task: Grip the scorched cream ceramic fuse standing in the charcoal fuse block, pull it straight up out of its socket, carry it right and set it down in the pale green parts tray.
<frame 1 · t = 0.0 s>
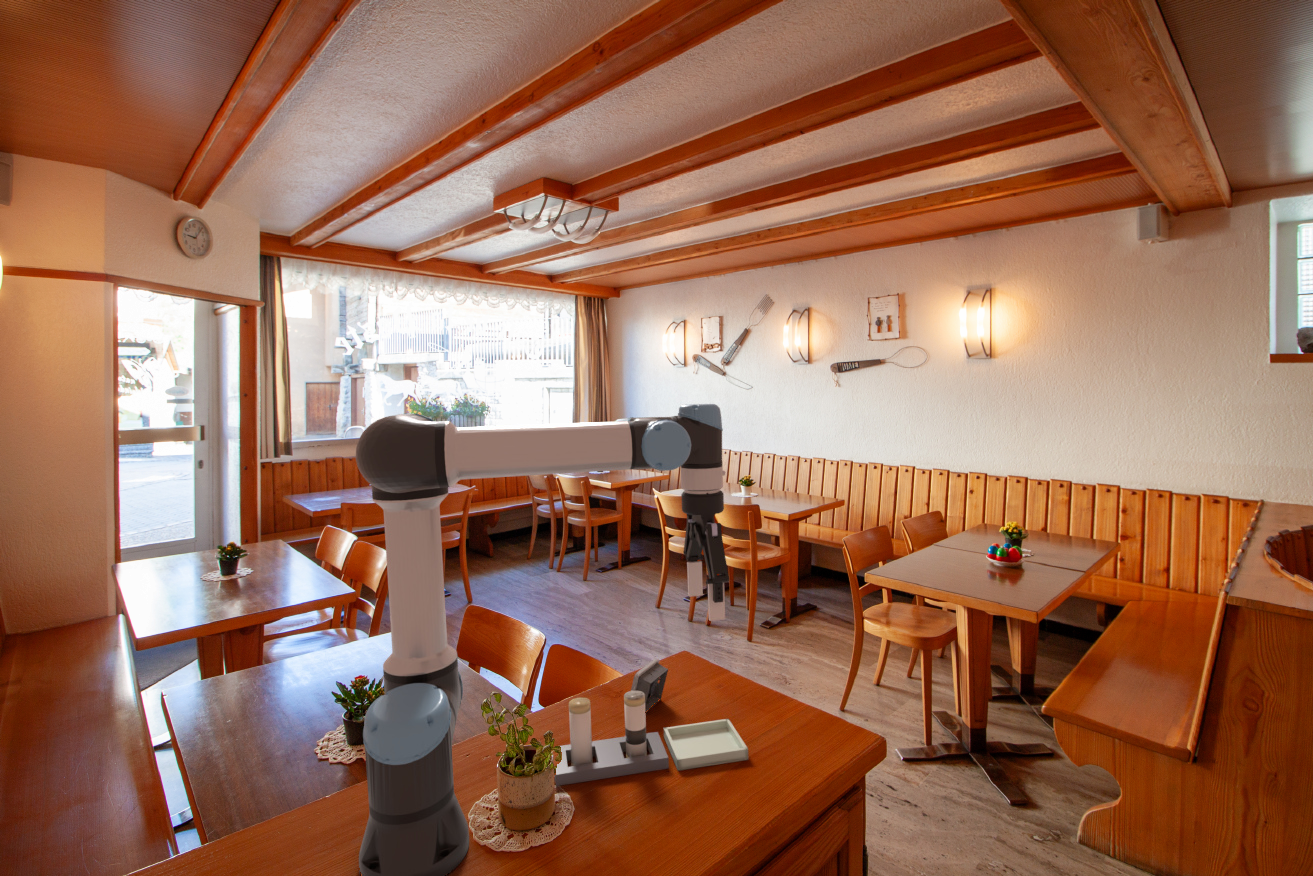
hand: (705, 607, 115), 28 cm above the table, fingers open, 13 cm apart
fuse block: (609, 762, 116), on the table
blown fuse: (636, 758, 117), resting in fuse block
electrical switch: (648, 707, 137), on the table
parts tray: (704, 748, 120), on the table
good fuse: (582, 767, 115), resting in fuse block
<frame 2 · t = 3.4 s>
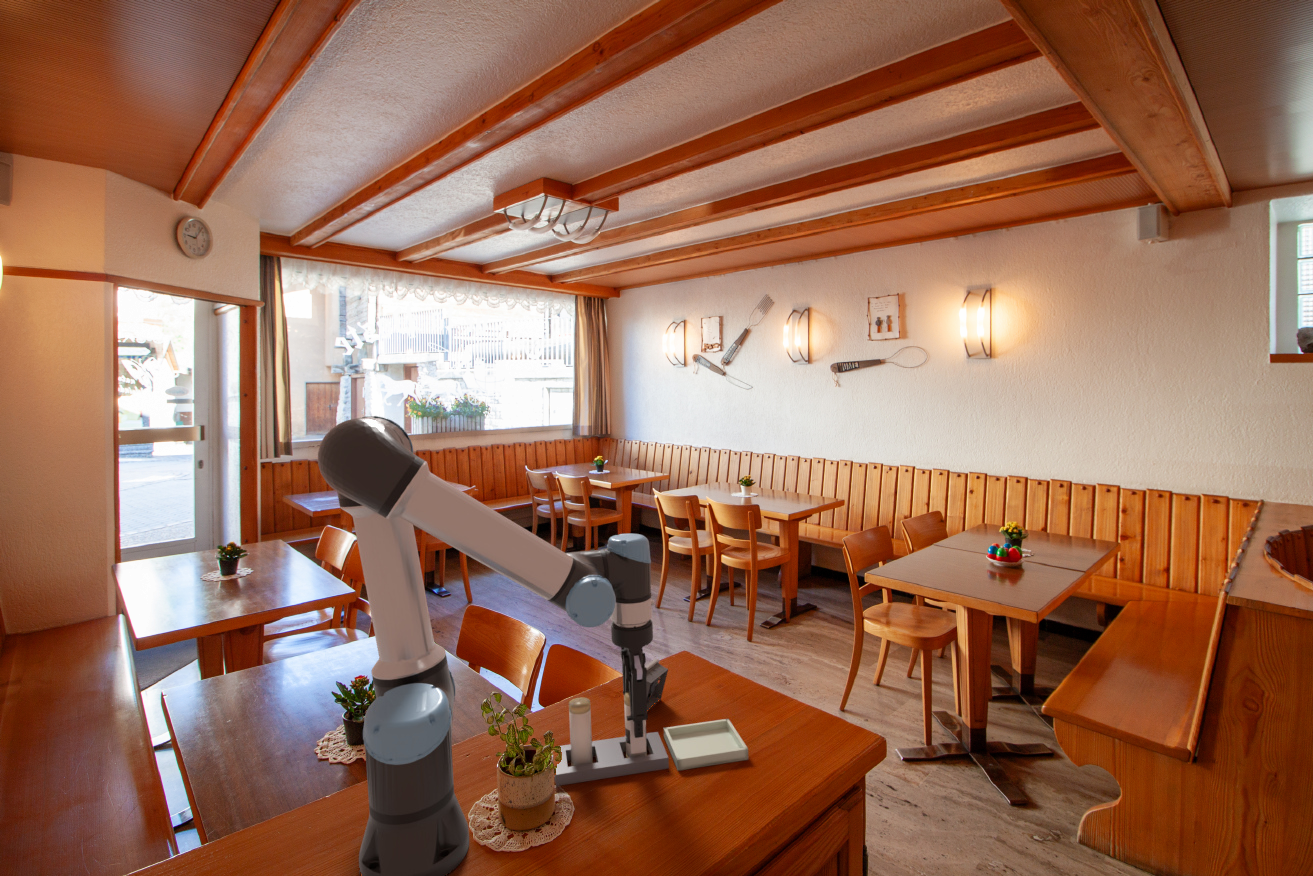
hand: (636, 744, 117), 3 cm above the table, fingers closed on blown fuse, 4 cm apart
blown fuse: (636, 758, 117), resting in fuse block, touching gripper
everything else where it was.
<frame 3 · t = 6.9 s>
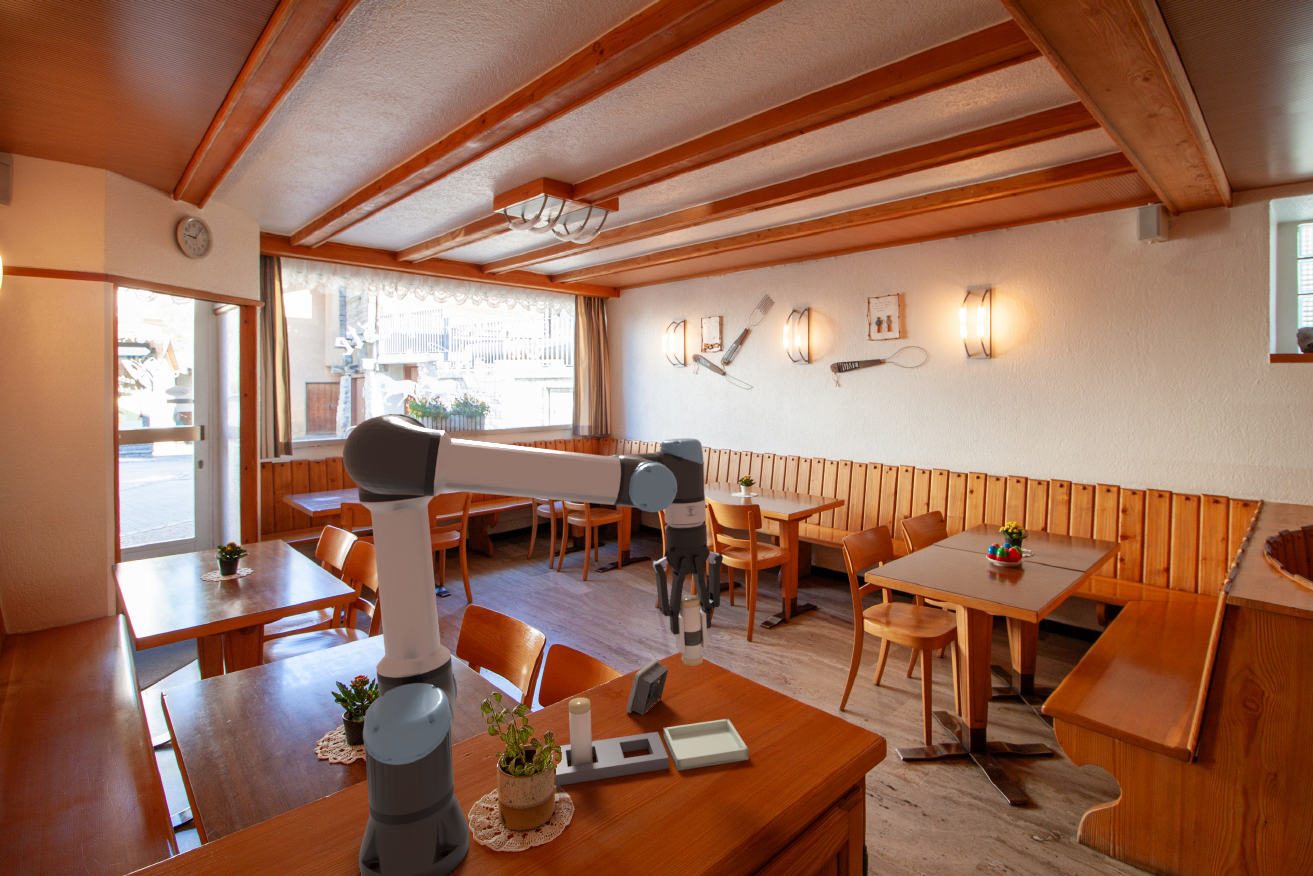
hand: (691, 647, 118), 20 cm above the table, fingers closed on blown fuse, 4 cm apart
blown fuse: (692, 661, 118), point 17 cm above the table, touching gripper
everything else where it was.
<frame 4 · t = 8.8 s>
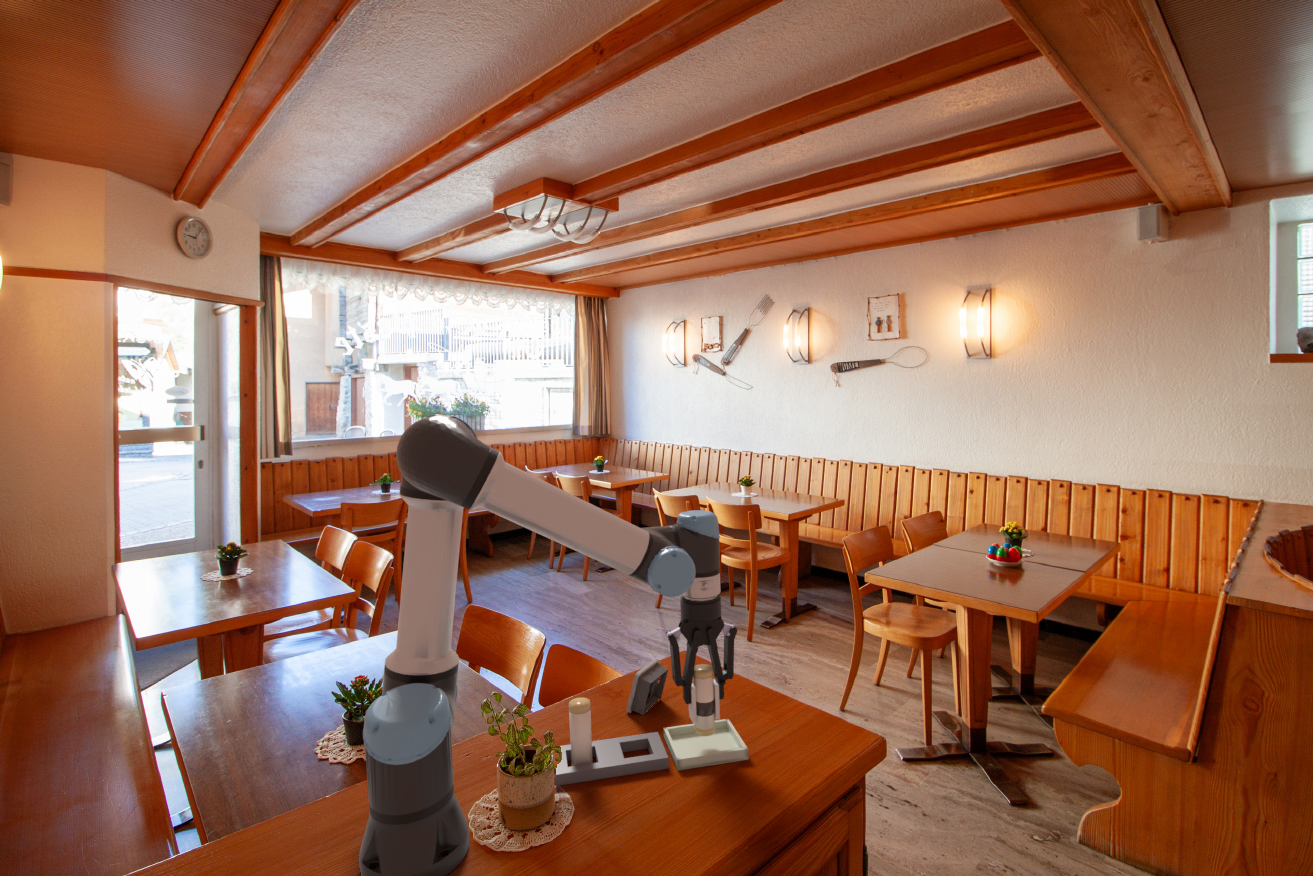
hand: (704, 717, 119), 6 cm above the table, fingers closed on blown fuse, 4 cm apart
blown fuse: (704, 730, 120), point 3 cm above the table, touching gripper
everything else where it was.
when the fingers open (3 cm above the table, at t = 10.2 s): blown fuse stays where it is, resting on parts tray.
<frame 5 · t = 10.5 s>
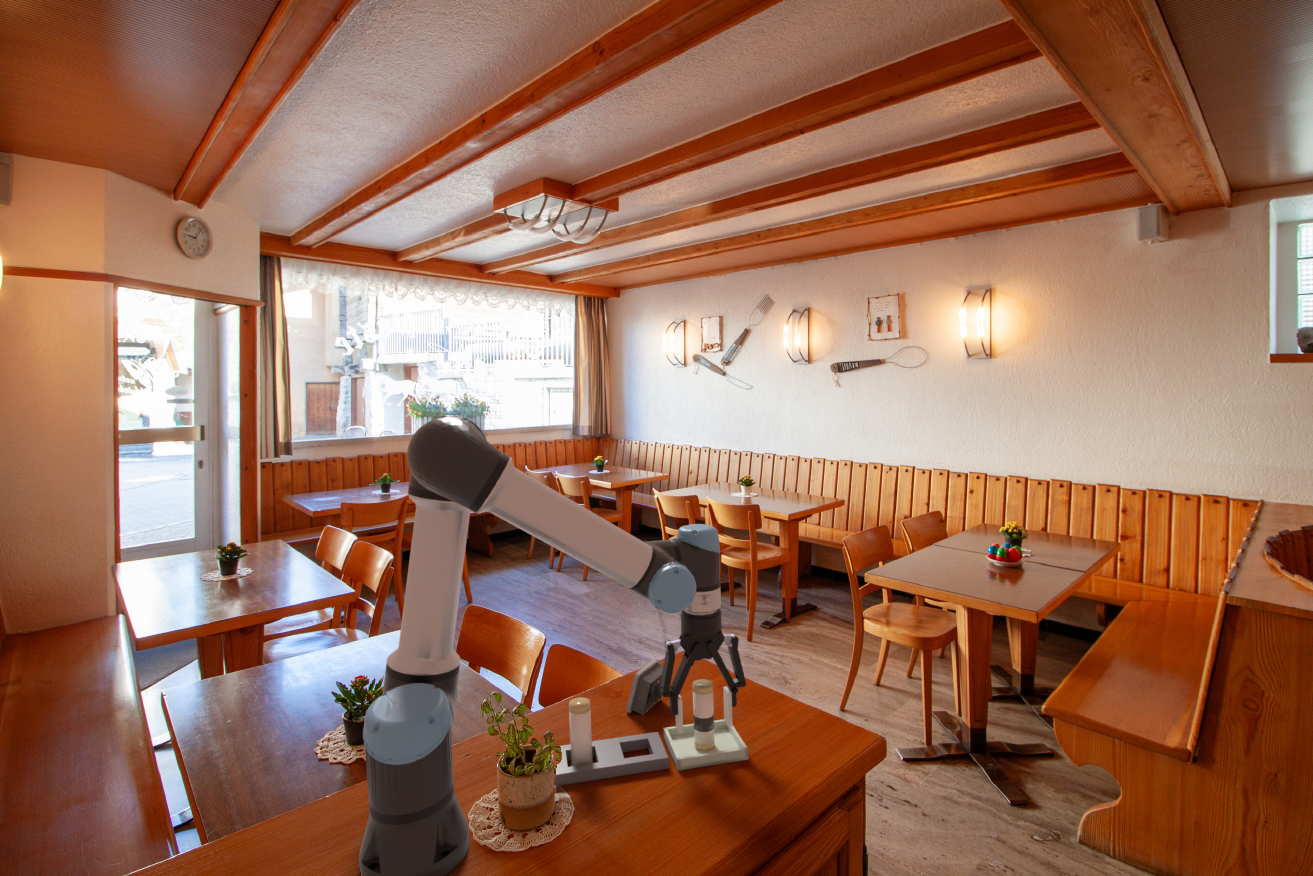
hand: (704, 726, 119), 4 cm above the table, fingers open, 9 cm apart
blown fuse: (704, 745, 120), resting on parts tray
everything else where it was.
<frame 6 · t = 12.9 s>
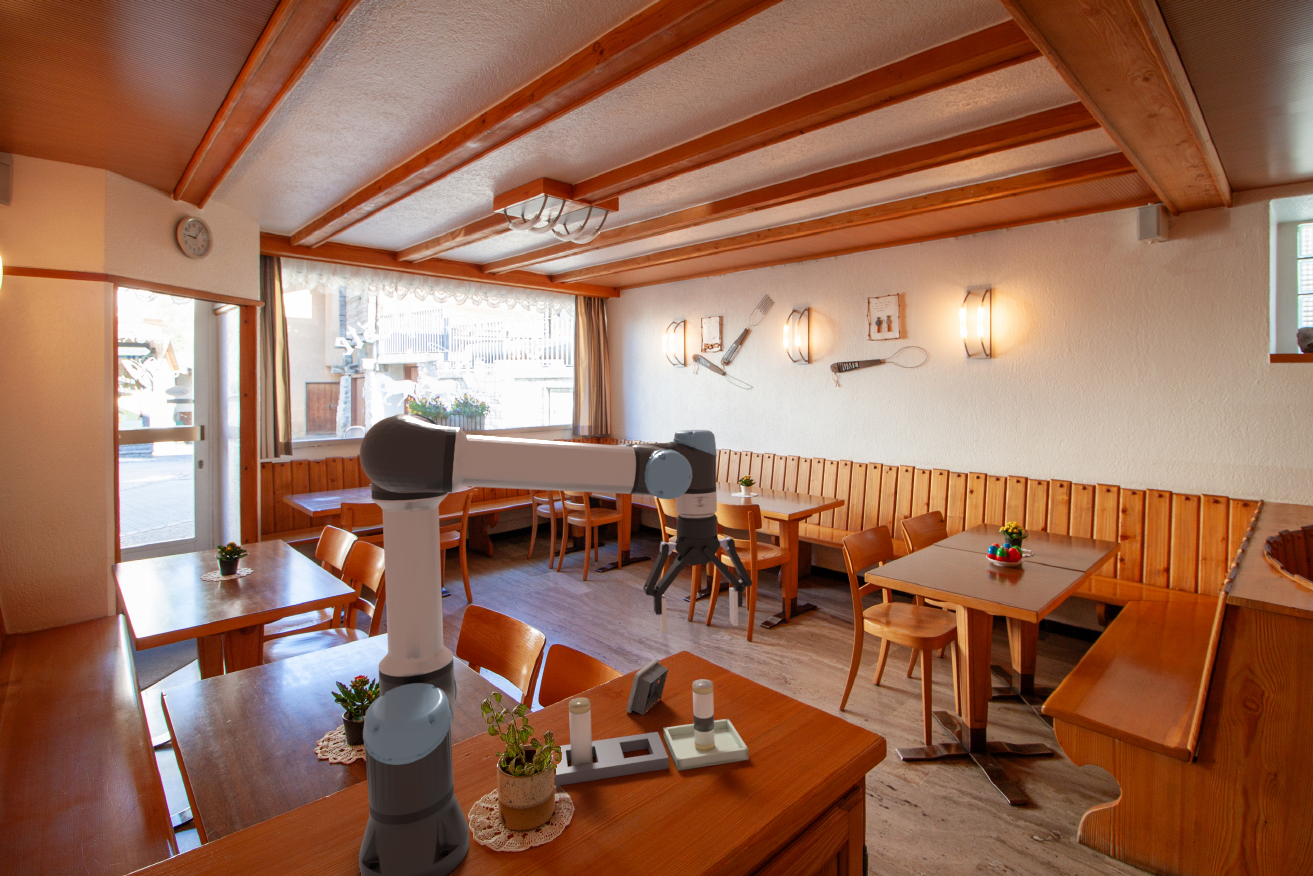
hand: (699, 627, 118), 23 cm above the table, fingers open, 13 cm apart
nothing on the table moved.
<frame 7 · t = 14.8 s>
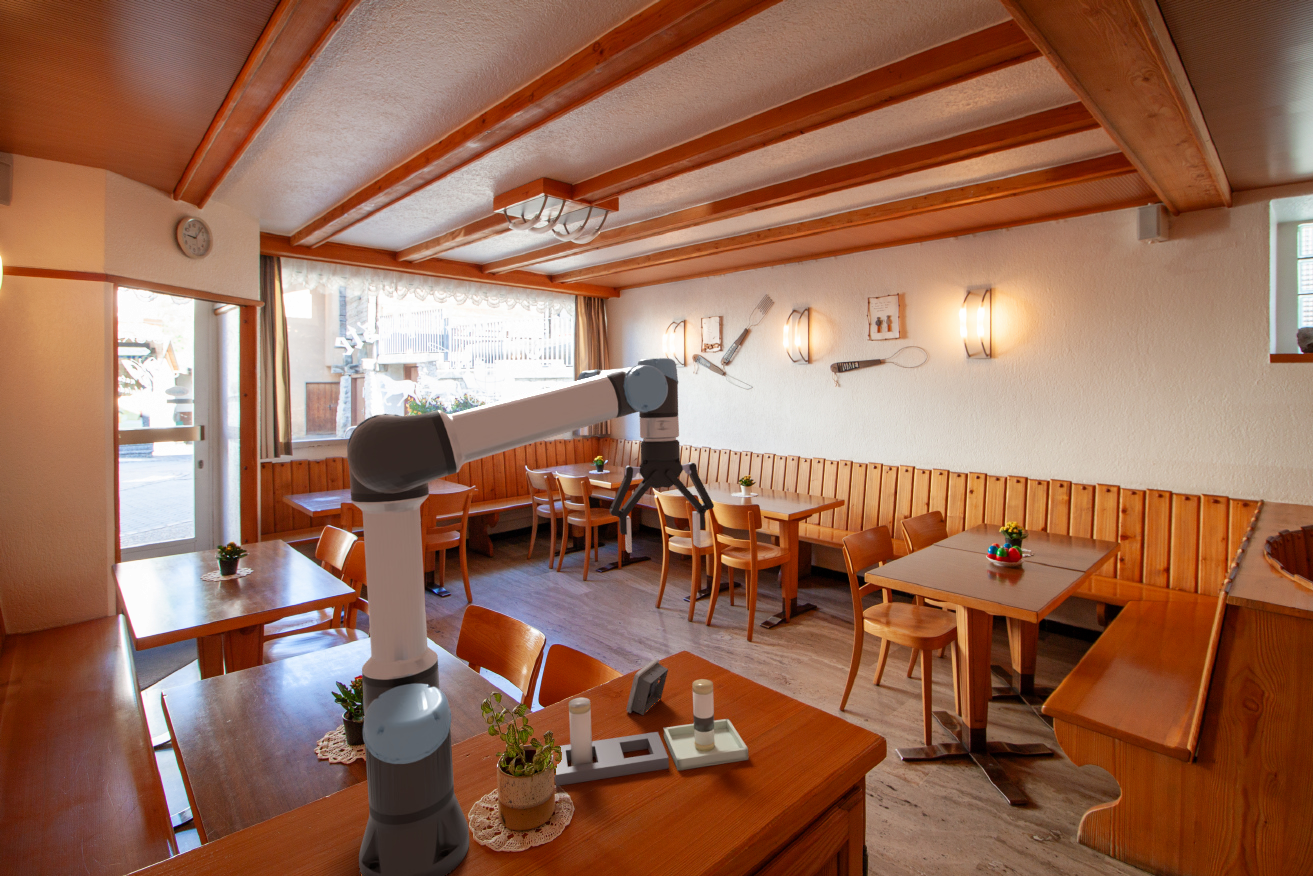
hand: (663, 548, 124), 37 cm above the table, fingers open, 13 cm apart
nothing on the table moved.
at the end: blown fuse inside the target area on the parts tray (0.0 cm from its centre), point 0.5 cm above the parts tray's base; the gripper is holding nothing; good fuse moved 0.0 cm from its start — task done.
